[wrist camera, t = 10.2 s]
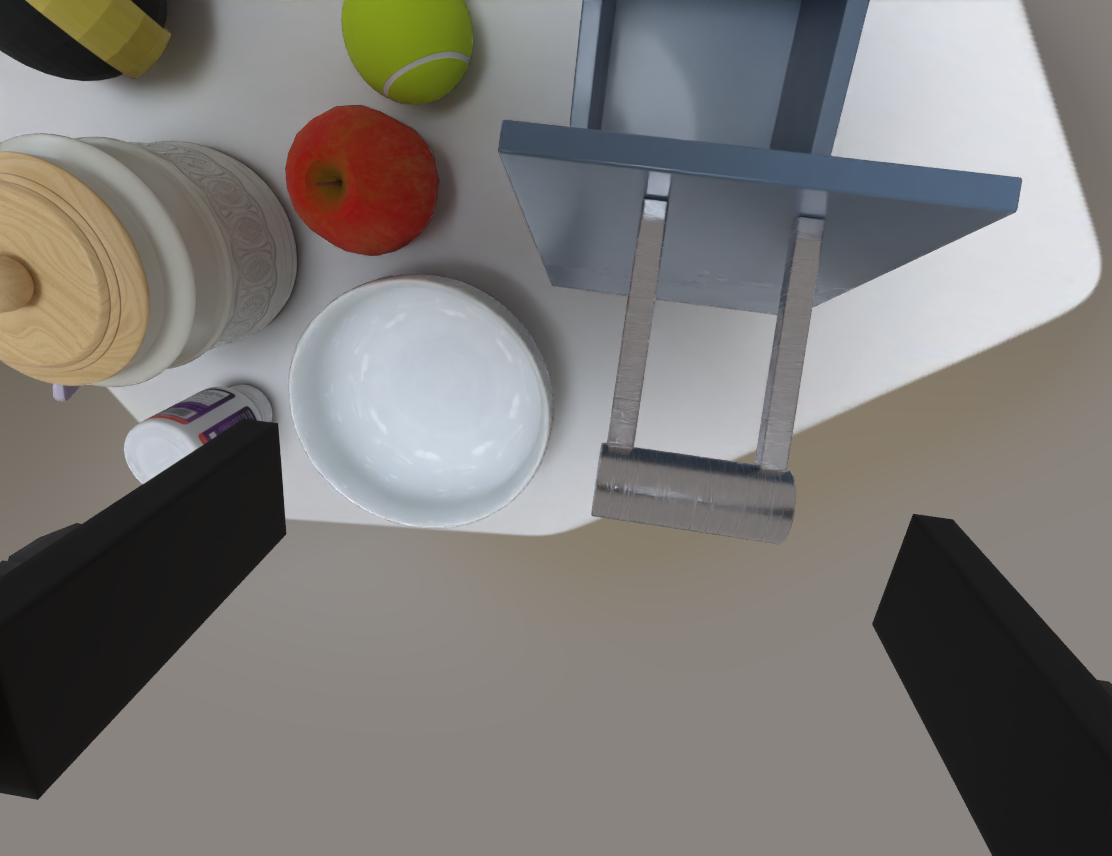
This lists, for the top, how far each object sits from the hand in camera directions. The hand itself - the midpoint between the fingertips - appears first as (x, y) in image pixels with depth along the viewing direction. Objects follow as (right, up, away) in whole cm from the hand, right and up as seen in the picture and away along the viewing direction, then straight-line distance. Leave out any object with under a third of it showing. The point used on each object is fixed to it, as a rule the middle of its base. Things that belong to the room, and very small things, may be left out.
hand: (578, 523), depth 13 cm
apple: (-11, +18, +28) cm, 35 cm away
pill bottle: (-25, 0, +27) cm, 37 cm away
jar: (-24, +15, +31) cm, 42 cm away
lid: (+5, +9, +9) cm, 14 cm away
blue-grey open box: (+7, +20, +25) cm, 33 cm away
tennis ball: (-8, +25, +25) cm, 37 cm away
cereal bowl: (-8, +6, +33) cm, 35 cm away
